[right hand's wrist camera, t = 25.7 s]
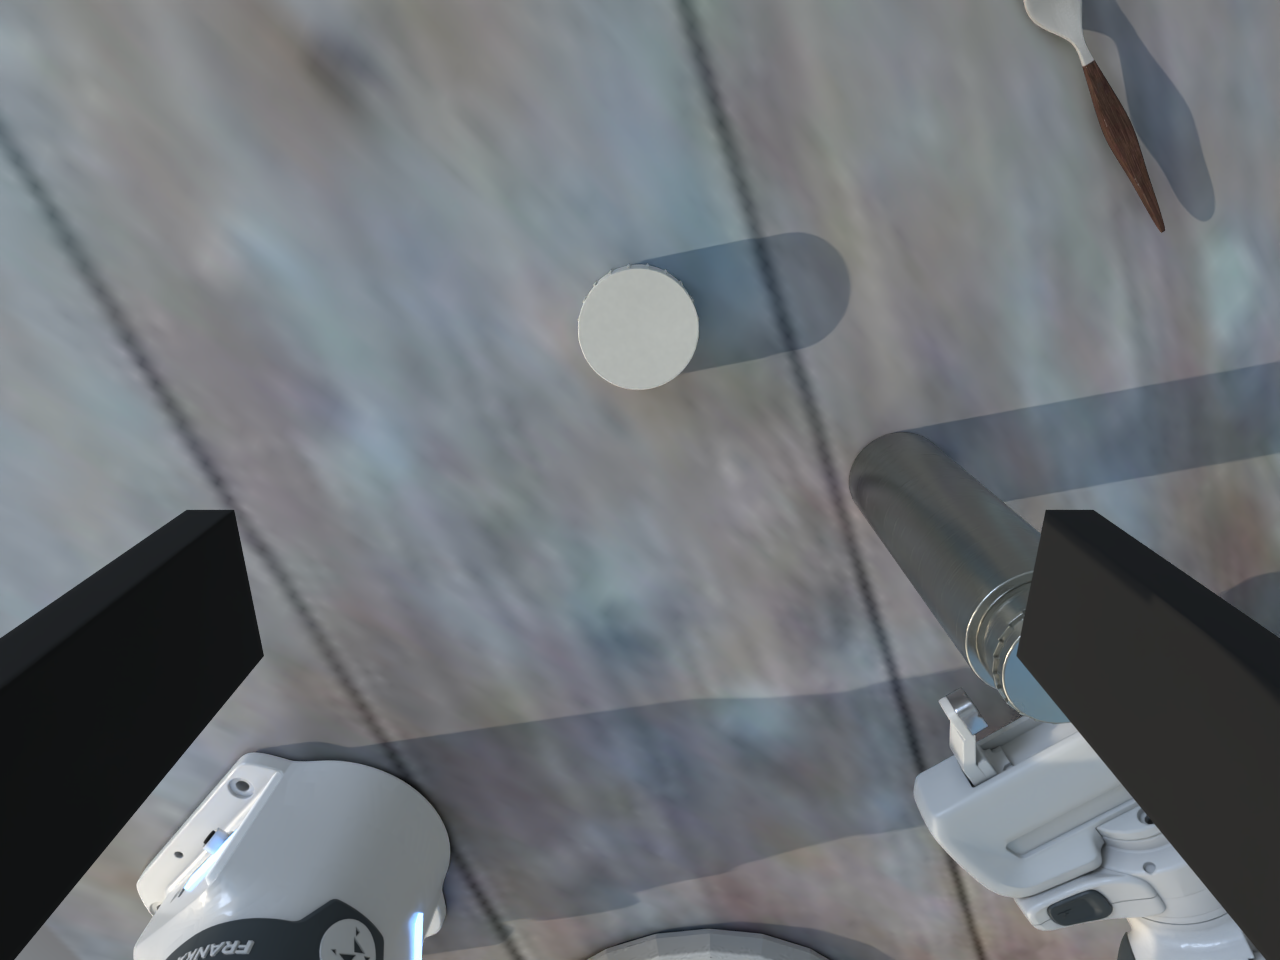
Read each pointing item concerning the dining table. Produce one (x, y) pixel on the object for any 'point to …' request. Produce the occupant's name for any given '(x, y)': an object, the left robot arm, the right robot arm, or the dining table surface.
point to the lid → (638, 327)
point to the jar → (957, 557)
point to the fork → (1099, 95)
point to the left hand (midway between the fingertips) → (1032, 654)
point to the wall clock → (708, 947)
